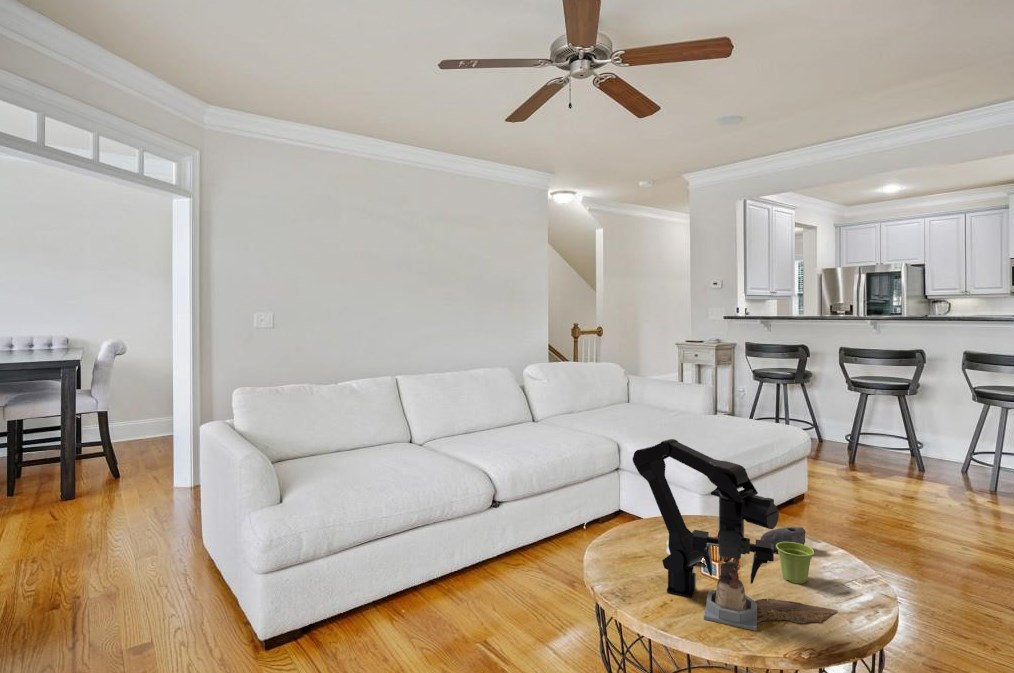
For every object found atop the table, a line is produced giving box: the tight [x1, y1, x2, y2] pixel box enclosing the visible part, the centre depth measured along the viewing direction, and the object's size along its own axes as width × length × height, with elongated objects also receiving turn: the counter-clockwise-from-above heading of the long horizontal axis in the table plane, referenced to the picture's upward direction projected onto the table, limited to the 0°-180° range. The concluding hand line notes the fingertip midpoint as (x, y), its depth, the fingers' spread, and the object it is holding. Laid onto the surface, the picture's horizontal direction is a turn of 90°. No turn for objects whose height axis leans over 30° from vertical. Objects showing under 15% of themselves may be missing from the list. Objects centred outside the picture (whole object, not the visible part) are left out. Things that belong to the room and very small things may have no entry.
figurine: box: [715, 560, 747, 612], centre depth 130 cm, size 7×7×12 cm
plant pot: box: [776, 542, 815, 585], centre depth 148 cm, size 9×9×9 cm
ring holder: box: [703, 589, 758, 632], centre depth 131 cm, size 12×12×3 cm
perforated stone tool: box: [759, 526, 806, 552], centre depth 167 cm, size 15×5×7 cm, turn 91°
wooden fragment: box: [754, 598, 838, 625], centre depth 131 cm, size 26×11×1 cm, turn 85°
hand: (731, 579), depth 130 cm, fingers open, 9 cm apart
